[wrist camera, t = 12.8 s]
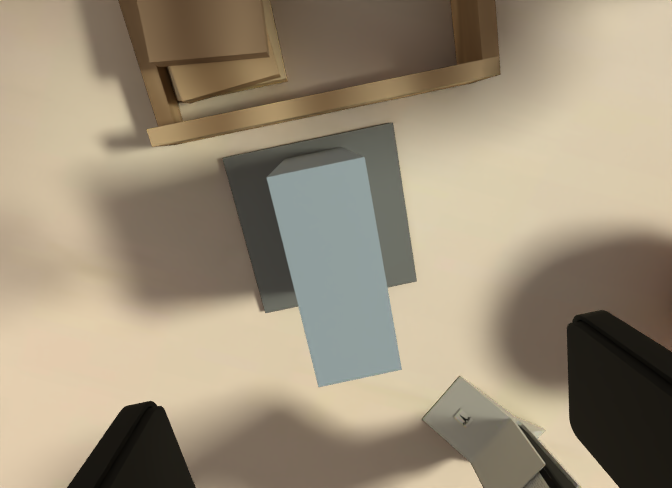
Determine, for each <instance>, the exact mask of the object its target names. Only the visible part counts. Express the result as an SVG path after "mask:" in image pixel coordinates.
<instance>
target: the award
mask: <svg viewBox="0 0 672 488" xmlns="http://www.w3.org/2000/svg"><path fill="white" fill-rule="evenodd" d="M422 420H423V421H425V422H426V423H427V424H428V425H429V426H430V427H431V428H432V429H434V430H435V431H436V432H437V433H438V434H439V435H440V436H441V437H443V438H444V439H445V440H446V441H447V442H448V443H449V444H450V445H451V446H453V447H454V448H455V449H456V450H457V451H458V452H459V453H460V454H462V455H463V456H464V457H465V458H466V459H467V460H468V461H469V462H470V463H471V465H472V466H473V468H474V470H475V472H476V474H477V476H478V478H479V480H480V482H481V484H482V486H483V488H581V486H580V485H579V484H578V483H577V482H576V480H575V479H574V478H573V477H572V476H571V475H570V474H569V473H568V472H567V470H566V469H565V468H564V467H563V466H562V465H561V464H560V463H559V462H558V460H557V459H556V458H555V457H554V456H553V455H552V454H551V453H550V451H549V450H548V449H547V448H546V447H545V446H544V445H543V444H542V443H541V441H540V440H539V439H538V438H539V437H540V436H541V435H542V434H543V433H544V432H545V429H543V428H541V427H539V426H537V425H534V424H532V423H530V422H527V421H525V420H523V419H520V418H518V417H516V416H514V415H513V414H511V413H510V412H508V411H507V410H506V409H504V408H503V407H502V406H500V405H499V404H498V403H496V402H495V401H494V400H492V399H491V398H490V397H488V396H487V395H486V394H484V393H483V392H482V391H480V390H479V389H478V388H476V387H475V386H474V385H472V384H471V383H470V382H468V381H467V380H466V379H464V378H462V377H461V376H459V378H458V379H457V380H456V381H455V382H454V383H453V384H452V386H451V387H450V388H449V389H448V390H447V391H446V392H445V394H444V395H443V396H442V397H441V398H440V399H439V400H438V402H437V403H436V404H435V405H434V406H433V407H432V408H431V410H430V411H429V412H428V413H427V414H426V415H425V416H424V418H423V419H422Z"/></svg>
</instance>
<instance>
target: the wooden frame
mask: <svg viewBox="0 0 672 488" xmlns="http://www.w3.org/2000/svg"><path fill="white" fill-rule="evenodd" d="M118 1H119V4H120V7H121V10H122V13H123V17H124V20H125V23H126V26H127V29H128V32H129V36H130V39H131V42H132V45H133V48H134V51H135V55H136V58H137V61H138V64H139V67H140V70H141V74H142V77H143V80H144V83H145V86H146V89H147V92H148V96H149V99H150V102H151V105H152V108H153V111H154V115H155V118H156V121H157V124H158V127H155V128H151V129H146V130H147V133H148V136H149V139H150V142H151V145H152V147H155V146H167V145H177V144H182V143H186V142H191V141H196V140H201V139H206V138H210V137H215V136H220V135H225V134H230V133H234V132H239V131H244V130H249V129H254V128H258V127H263V126H268V125H273V124H278V123H282V122H287V121H292V120H297V119H302V118H306V117H311V116H316V115H321V114H326V113H331V112H335V111H340V110H345V109H350V108H355V107H359V106H364V105H369V104H374V103H379V102H383V101H388V100H393V99H398V98H403V97H407V96H412V95H417V94H422V93H427V92H431V91H436V90H441V89H446V88H451V87H456V86H460V85H465V84H470V83H474V82H477V81H481V80H484V79H487V78H490V77H493V76H497V75H500V60H499V46H498V32H497V19H496V5H495V0H450V1H451V11H452V21H453V30H454V40H455V50H456V60H457V65H454V66H449V67H444V68H439V69H435V70H430V71H425V72H420V73H415V74H411V75H406V76H401V77H396V78H391V79H387V80H382V81H377V82H372V83H367V84H362V85H358V86H353V87H348V88H343V89H338V90H334V91H329V92H324V93H319V94H314V95H309V96H305V97H300V98H295V99H290V100H285V101H281V102H276V103H271V104H266V105H261V106H256V107H252V108H247V109H242V110H237V111H232V112H228V113H223V114H218V115H213V116H208V117H204V118H199V119H194V120H189V121H184V122H183V120H182V116H181V113H180V110H179V106H178V103H177V99H176V96H175V93H174V89H173V86H172V83H171V79H170V76H169V73H168V69H167V66H166V67H159V66H156V65H154V64H152V63H150V62H149V57H148V52H147V47H146V42H145V37H144V33H143V28H142V23H141V18H140V13H139V9H138V4H137V0H118Z"/></svg>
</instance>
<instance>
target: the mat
mask: <svg viewBox="0 0 672 488" xmlns="http://www.w3.org/2000/svg"><path fill="white" fill-rule="evenodd" d="M339 147H342V148H345V149H347V150H350V151H352V152H354V153H357V154H359V155H361V156H364V157H365V162H366V168H367V173H368V179H369V185H370V191H371V196H372V202H373V208H374V214H375V219H376V225H377V231H378V236H379V242H380V248H381V254H382V259H383V265H384V271H385V277H386V282H387V287H392V286H397V285H402V284H406V283H411V282H416V281H417V280H416V273H415V266H414V260H413V253H412V246H411V240H410V233H409V226H408V220H407V213H406V207H405V200H404V193H403V187H402V180H401V173H400V167H399V160H398V153H397V147H396V140H395V134H394V127H393V123H388V124H384V125H379V126H374V127H369V128H364V129H360V130H355V131H350V132H345V133H340V134H336V135H331V136H326V137H321V138H316V139H312V140H307V141H302V142H297V143H293V144H288V145H283V146H278V147H273V148H269V149H264V150H259V151H254V152H249V153H245V154H240V155H235V156H230V157H225V158H223V162H224V166H225V169H226V173H227V176H228V180H229V184H230V187H231V191H232V194H233V198H234V202H235V205H236V209H237V212H238V216H239V220H240V223H241V227H242V230H243V234H244V238H245V241H246V245H247V248H248V252H249V256H250V259H251V263H252V266H253V270H254V274H255V277H256V281H257V285H258V288H259V292H260V295H261V299H262V303H263V306H264V310H265V313H269V312H274V311H279V310H283V309H288V308H293V307H298V302H297V298H296V294H295V290H294V286H293V282H292V278H291V274H290V270H289V266H288V262H287V258H286V254H285V250H284V246H283V242H282V238H281V234H280V230H279V226H278V222H277V218H276V214H275V210H274V206H273V202H272V198H271V194H270V190H269V185H268V181H267V176H268V175H269V174H270V173H271V172H272V171H273V170H274V169H275V168H276V167H277V166H278V165H279V164H280V163H281V162H282V161H283V160H284V159H287V158H291V157H296V156H301V155H306V154H311V153H315V152H320V151H325V150H330V149H335V148H339Z"/></svg>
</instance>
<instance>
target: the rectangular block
mask: <svg viewBox="0 0 672 488" xmlns="http://www.w3.org/2000/svg"><path fill="white" fill-rule="evenodd" d="M267 181H268V185H269V190H270V194H271V198H272V202H273V206H274V210H275V214H276V218H277V222H278V226H279V230H280V234H281V238H282V242H283V246H284V250H285V254H286V258H287V262H288V266H289V270H290V274H291V278H292V282H293V286H294V290H295V294H296V298H297V302H298V306H299V310H300V314H301V318H302V322H303V326H304V330H305V334H306V338H307V342H308V346H309V350H310V354H311V358H312V362H313V367H314V371H315V375H316V379H317V383H318V387H322V386H327V385H331V384H336V383H341V382H346V381H350V380H355V379H360V378H364V377H369V376H374V375H379V374H383V373H388V372H393V371H397V370H402V368H401V363H400V357H399V351H398V346H397V340H396V334H395V328H394V323H393V317H392V311H391V305H390V300H389V294H388V288H387V282H386V277H385V271H384V265H383V259H382V254H381V248H380V242H379V236H378V231H377V225H376V219H375V214H374V208H373V202H372V196H371V191H370V185H369V179H368V173H367V168H366V162H365V157H364V156H361V155H359V154H357V153H354V152H352V151H350V150H347V149H345V148H342V147H339V148H335V149H330V150H325V151H320V152H315V153H311V154H306V155H301V156H296V157H291V158H287V159H284V160H283V161H282V162H281V163H280V164H279V165H278V166H277V167H276V168H275V169H274V170H273V171H272V172H271V173H270V174H269V175H268V176H267Z"/></svg>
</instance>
